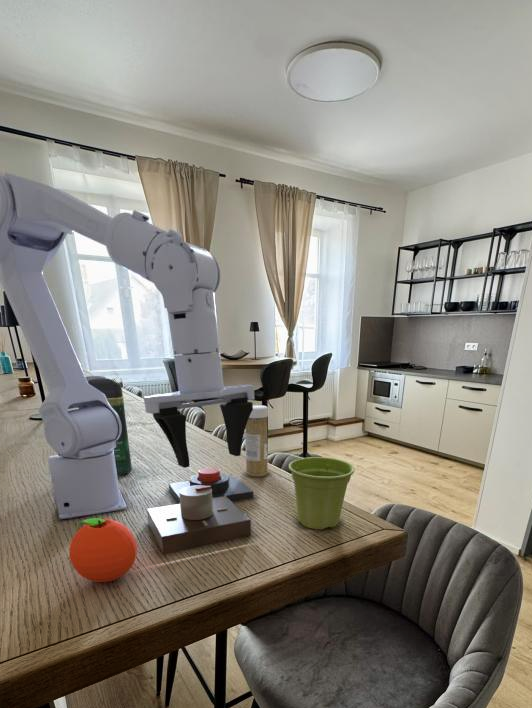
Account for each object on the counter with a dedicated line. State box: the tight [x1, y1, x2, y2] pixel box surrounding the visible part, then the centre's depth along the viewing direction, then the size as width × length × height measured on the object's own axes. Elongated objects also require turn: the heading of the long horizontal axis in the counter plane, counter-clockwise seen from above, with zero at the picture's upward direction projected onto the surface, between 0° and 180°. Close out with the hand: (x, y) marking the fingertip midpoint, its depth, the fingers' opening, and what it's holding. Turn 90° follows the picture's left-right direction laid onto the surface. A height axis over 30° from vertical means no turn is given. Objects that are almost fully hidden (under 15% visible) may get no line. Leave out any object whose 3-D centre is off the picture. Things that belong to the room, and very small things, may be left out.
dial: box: [179, 485, 213, 520], centre depth 57 cm, size 4×4×4 cm
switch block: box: [168, 472, 254, 504], centre depth 71 cm, size 12×10×3 cm
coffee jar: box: [78, 375, 133, 477], centre depth 80 cm, size 10×8×19 cm
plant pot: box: [288, 456, 356, 530], centre depth 60 cm, size 9×9×9 cm
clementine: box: [68, 517, 138, 583], centre depth 46 cm, size 8×7×7 cm
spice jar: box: [244, 404, 269, 478], centre depth 80 cm, size 5×5×13 cm
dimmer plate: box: [146, 496, 252, 555], centre depth 58 cm, size 12×10×3 cm
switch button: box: [197, 467, 221, 482], centre depth 70 cm, size 4×4×2 cm
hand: (210, 460), depth 56 cm, fingers open, 7 cm apart
